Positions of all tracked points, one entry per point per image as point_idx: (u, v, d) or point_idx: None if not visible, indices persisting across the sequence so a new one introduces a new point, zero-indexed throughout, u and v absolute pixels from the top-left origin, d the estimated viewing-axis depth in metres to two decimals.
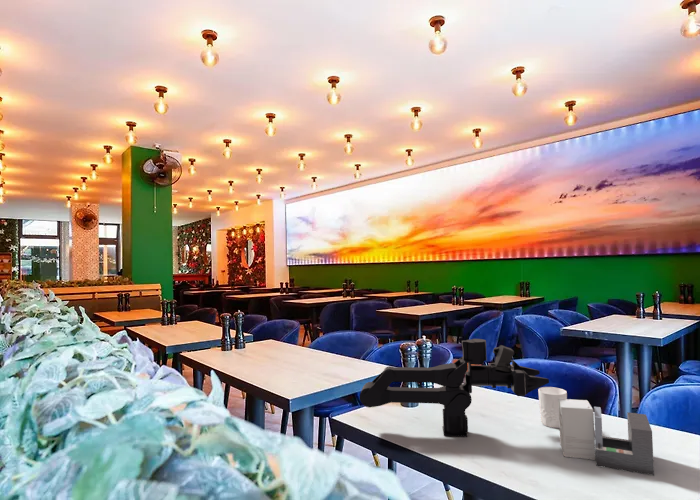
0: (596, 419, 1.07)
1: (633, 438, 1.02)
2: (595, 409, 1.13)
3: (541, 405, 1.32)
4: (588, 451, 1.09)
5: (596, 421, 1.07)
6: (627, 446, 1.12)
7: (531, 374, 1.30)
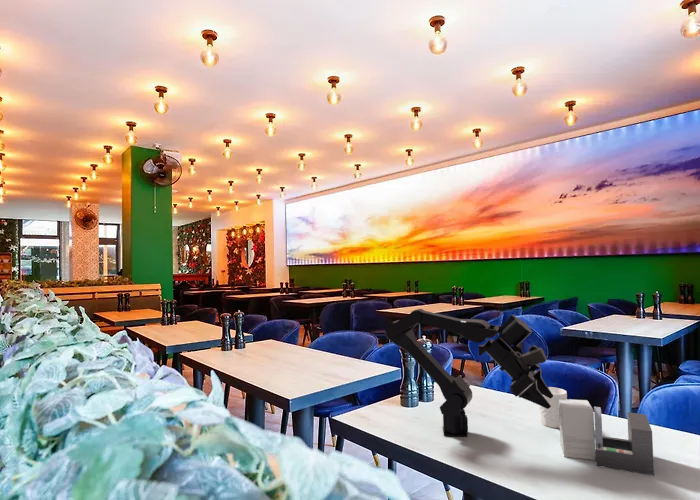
0: (596, 419, 1.07)
1: (633, 438, 1.02)
2: (595, 409, 1.13)
3: None
4: (588, 451, 1.09)
5: (596, 421, 1.07)
6: (627, 446, 1.12)
7: (543, 392, 1.21)
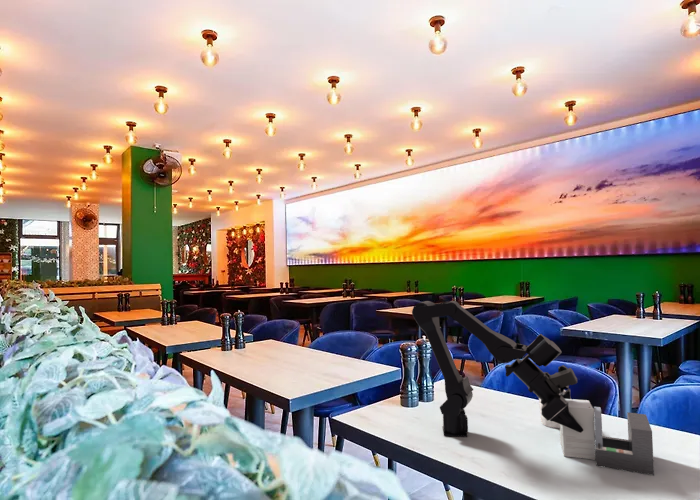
0: (596, 419, 1.07)
1: (633, 438, 1.02)
2: (595, 409, 1.13)
3: (541, 405, 1.32)
4: (588, 451, 1.09)
5: (596, 421, 1.07)
6: (627, 446, 1.12)
7: None
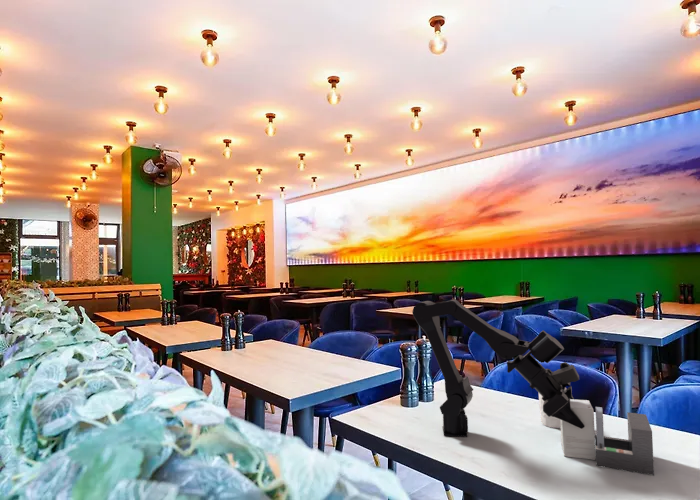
0: (597, 419, 1.07)
1: (633, 438, 1.02)
2: (596, 409, 1.13)
3: (541, 405, 1.32)
4: (588, 451, 1.09)
5: (597, 421, 1.07)
6: (627, 446, 1.12)
7: None
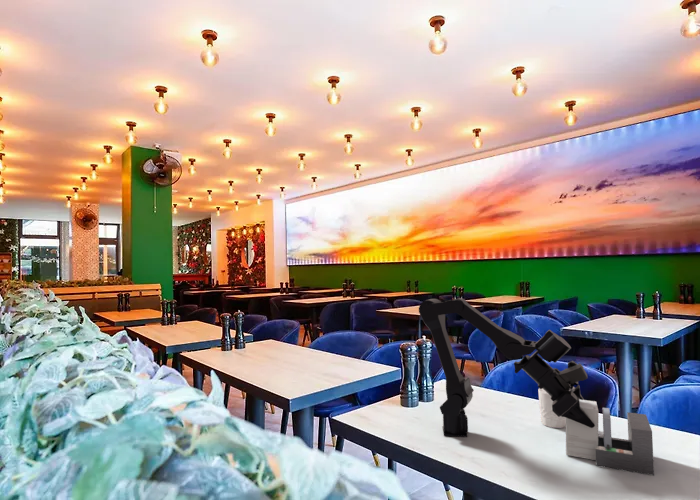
0: (605, 420, 1.06)
1: (633, 438, 1.02)
2: (603, 410, 1.12)
3: (541, 405, 1.32)
4: (590, 452, 1.08)
5: (605, 422, 1.06)
6: (627, 446, 1.12)
7: None
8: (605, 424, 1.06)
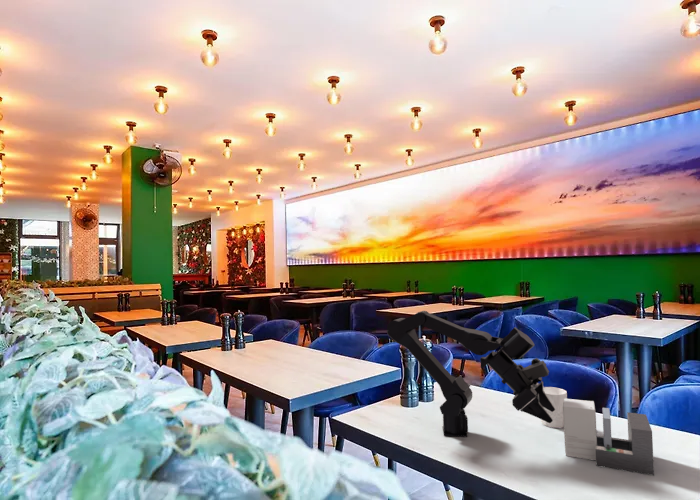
0: (605, 420, 1.06)
1: (633, 438, 1.02)
2: (603, 410, 1.12)
3: None
4: (589, 452, 1.09)
5: (605, 422, 1.06)
6: (627, 446, 1.12)
7: (545, 405, 1.21)
8: (605, 424, 1.06)
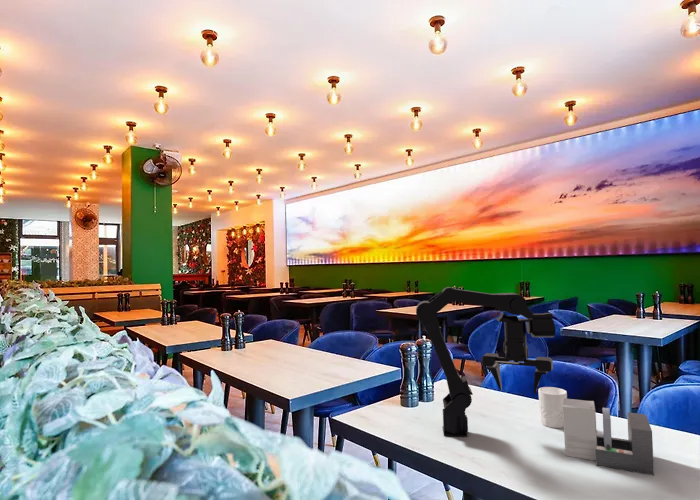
0: (605, 420, 1.06)
1: (633, 438, 1.02)
2: (603, 410, 1.12)
3: (541, 405, 1.32)
4: (589, 452, 1.09)
5: (605, 422, 1.06)
6: (627, 446, 1.12)
7: (500, 382, 1.27)
8: (605, 424, 1.06)
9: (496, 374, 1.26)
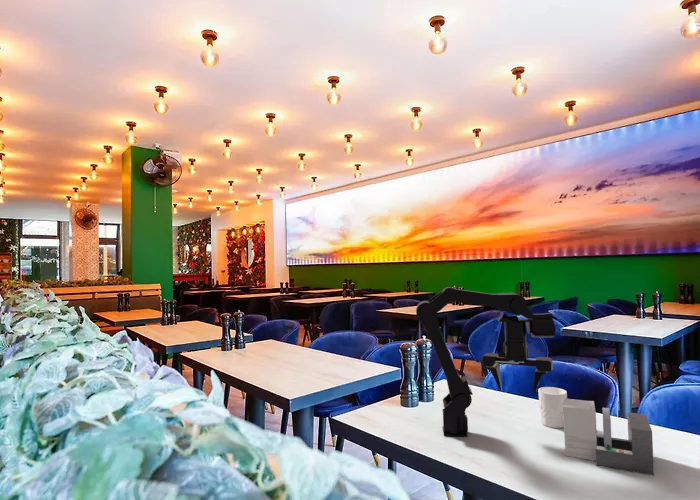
0: (605, 420, 1.06)
1: (633, 438, 1.02)
2: (603, 410, 1.12)
3: (541, 405, 1.32)
4: (589, 452, 1.09)
5: (605, 422, 1.06)
6: (627, 446, 1.12)
7: (500, 382, 1.27)
8: (605, 424, 1.06)
9: (496, 374, 1.26)
